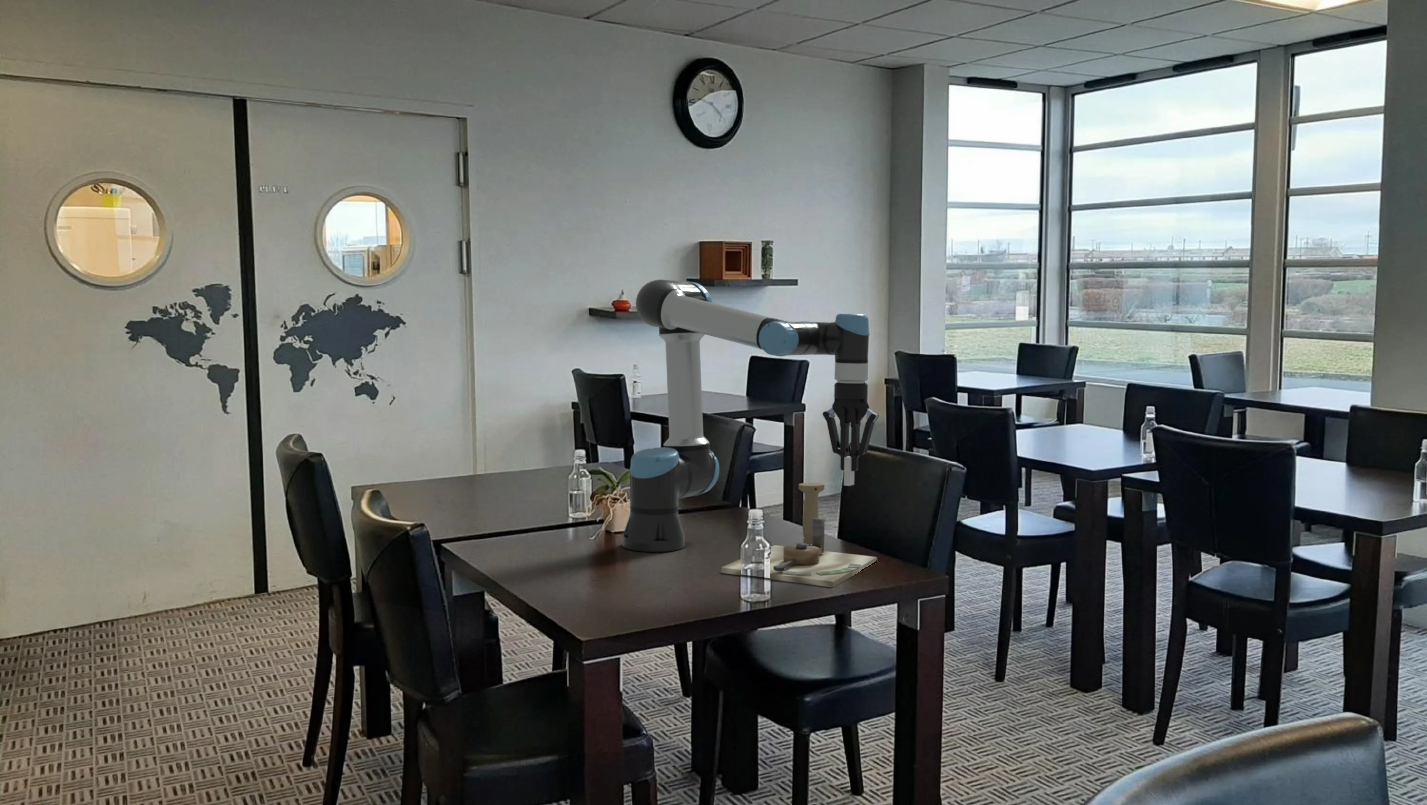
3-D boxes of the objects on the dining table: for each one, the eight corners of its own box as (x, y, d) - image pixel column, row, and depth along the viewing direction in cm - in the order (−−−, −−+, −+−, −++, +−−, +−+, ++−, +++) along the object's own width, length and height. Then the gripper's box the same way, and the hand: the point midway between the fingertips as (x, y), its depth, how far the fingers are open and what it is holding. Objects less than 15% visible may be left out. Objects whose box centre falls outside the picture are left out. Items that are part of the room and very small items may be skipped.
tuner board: (721, 572, 243) (721, 566, 243) (773, 550, 268) (773, 544, 267) (834, 587, 231) (834, 580, 231) (878, 562, 256) (878, 556, 255)
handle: (826, 545, 274) (827, 485, 273) (802, 547, 272) (804, 486, 270) (817, 541, 278) (818, 482, 277) (794, 543, 276) (795, 483, 275)
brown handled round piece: (793, 574, 235) (794, 537, 235) (759, 570, 239) (760, 533, 238) (836, 553, 257) (837, 519, 257) (804, 549, 261) (805, 516, 260)
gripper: (884, 382, 252) (881, 485, 254) (830, 380, 258) (828, 480, 260) (873, 383, 246) (870, 489, 247) (818, 381, 252) (816, 484, 253)
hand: (849, 484), depth 254 cm, fingers closed
